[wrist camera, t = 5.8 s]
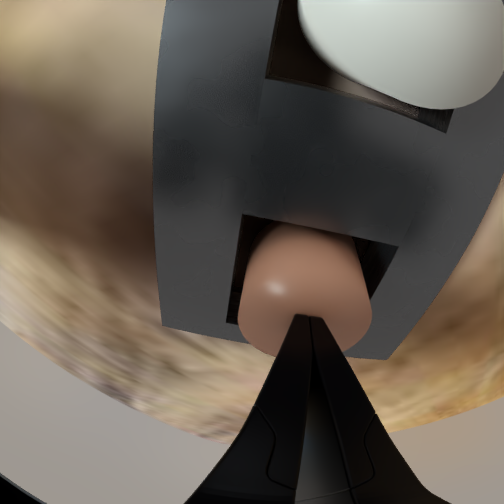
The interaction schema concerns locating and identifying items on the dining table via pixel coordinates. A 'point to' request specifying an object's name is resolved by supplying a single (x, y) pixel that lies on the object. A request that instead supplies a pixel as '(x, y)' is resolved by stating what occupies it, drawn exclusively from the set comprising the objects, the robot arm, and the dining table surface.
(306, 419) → the robot arm
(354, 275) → the terracotta button
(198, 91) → the button panel
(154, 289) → the dining table surface
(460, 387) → the dining table surface
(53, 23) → the dining table surface
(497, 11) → the white button
